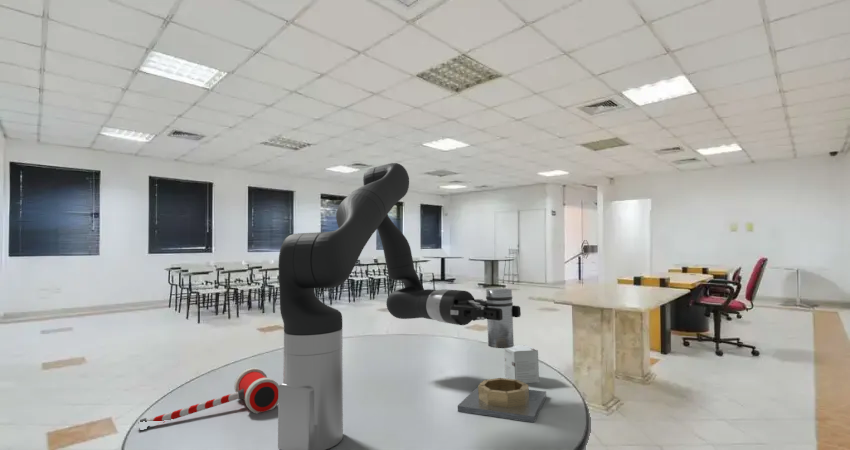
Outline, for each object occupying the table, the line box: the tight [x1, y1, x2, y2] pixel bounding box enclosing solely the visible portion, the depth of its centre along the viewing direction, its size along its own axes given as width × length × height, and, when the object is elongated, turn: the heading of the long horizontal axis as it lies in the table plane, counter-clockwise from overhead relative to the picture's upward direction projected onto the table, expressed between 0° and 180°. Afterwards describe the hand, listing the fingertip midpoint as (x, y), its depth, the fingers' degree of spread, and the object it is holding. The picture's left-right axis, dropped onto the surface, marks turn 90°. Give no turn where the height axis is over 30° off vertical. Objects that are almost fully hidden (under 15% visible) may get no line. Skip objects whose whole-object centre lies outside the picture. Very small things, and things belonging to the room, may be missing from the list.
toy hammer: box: [139, 367, 280, 422], centre depth 76 cm, size 23×12×6 cm, turn 127°
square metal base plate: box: [457, 377, 547, 423], centre depth 77 cm, size 14×14×4 cm
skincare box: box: [503, 344, 540, 384], centre depth 92 cm, size 6×6×7 cm
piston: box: [485, 288, 515, 349], centre depth 79 cm, size 5×5×11 cm
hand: (510, 313), depth 77 cm, fingers closed on piston, 5 cm apart
